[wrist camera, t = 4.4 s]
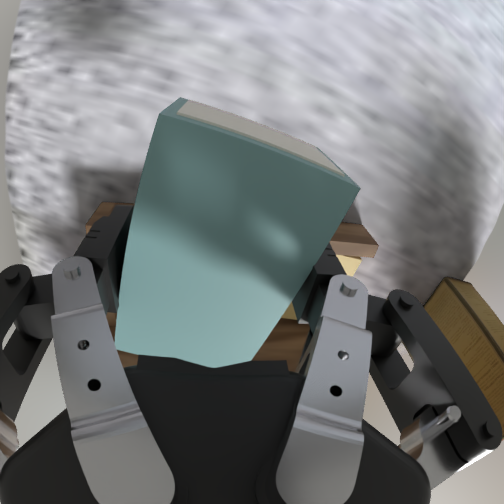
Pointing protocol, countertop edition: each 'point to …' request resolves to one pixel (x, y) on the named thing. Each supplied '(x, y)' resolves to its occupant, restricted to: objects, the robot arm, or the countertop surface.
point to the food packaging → (472, 336)
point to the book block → (222, 234)
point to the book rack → (286, 330)
